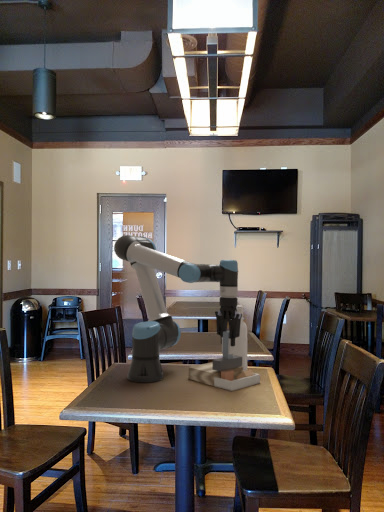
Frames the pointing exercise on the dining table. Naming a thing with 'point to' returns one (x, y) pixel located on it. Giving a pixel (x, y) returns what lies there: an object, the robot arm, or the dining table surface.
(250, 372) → the tile
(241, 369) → the striped wooden block
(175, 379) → the dining table surface
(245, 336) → the bottle
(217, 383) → the box
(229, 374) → the tile
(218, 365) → the grey post
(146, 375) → the robot arm
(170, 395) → the dining table surface
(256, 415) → the dining table surface
